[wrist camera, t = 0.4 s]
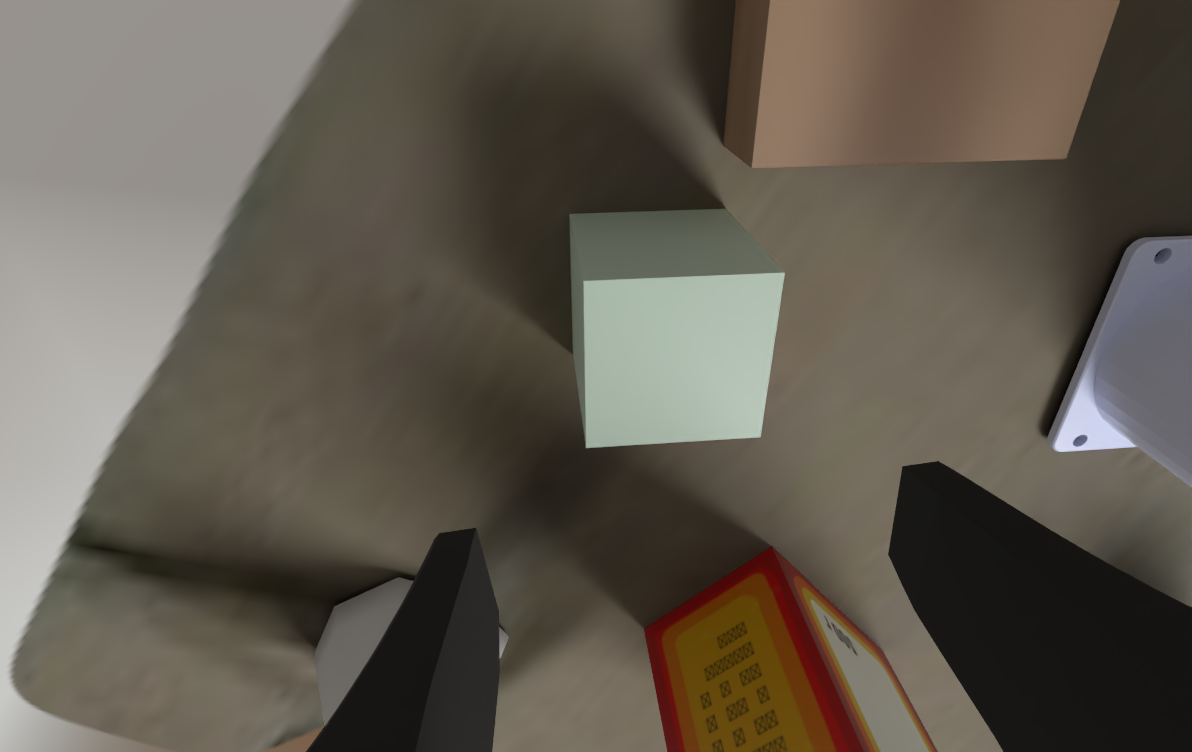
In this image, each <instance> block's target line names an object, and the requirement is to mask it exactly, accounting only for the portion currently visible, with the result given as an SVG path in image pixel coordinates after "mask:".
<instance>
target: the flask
mask: <svg viewBox="0 0 1192 752" xmlns="http://www.w3.org/2000/svg"><path fill="white" fill-rule="evenodd" d="M412 583H413V581H411V580H407V579H403V578H399V577H398V578H395V579H393V580H391V581H389V582H387V583H384V584H382V585H380V586H378V587H376V588H373V589H371V590H369V591H367V592H365V593H362V594H360V595H358V596H356V597H354V598H351V599H349V600H347V601H345V602H343V603H340V604H338V605H336V606H334V608H333V611H332V613H331V615H330V618H329V620H328V622H327V625H326V627H325V629H324V632H323V634H322V636H321V639H320V641H319V643H318V645H317V648H316V650H315V652H314V655H315V664H316V673H317V680H318V687H319V693H320V700H321V706H322V713H323V719H324V726H325V725H326V724H327V722H328V721H329V719H330V718H331V716H332V715H333V714H334V712H335V711H336V709H337V708H338V706H339V705H340V703H341V702H342V700H343V699H344V697H345V696H346V694H347V693H348V691H349V690H350V688H351V687H352V685H353V683H354V682H355V680H356V679H357V677H358V676H359V674H360V672H361V671H362V669H363V668H364V666H365V665H366V663H367V662H368V660H369V658H370V657H371V655H372V654H373V652H374V650H375V649H376V647H377V645H378V644H379V642H380V640H381V639H382V637H383V635H384V633H385V632H386V630H387V628H388V626H389V625H390V623H391V621H392V619H393V618H394V616H395V614H396V613H397V611H398V609H399V607H400V606H401V604H402V602H403V600H404V598H405V596H406V594H407V593H408V591H409V589H410V587H411V585H412ZM508 638H509V637H508V635H507V634H506V633H505V632H504V631H503V630H502V629H501V628H500V627H499V651H500V657H501V655H502V653H503V650H504V648H505V645H506V643H507V641H508Z"/></svg>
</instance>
